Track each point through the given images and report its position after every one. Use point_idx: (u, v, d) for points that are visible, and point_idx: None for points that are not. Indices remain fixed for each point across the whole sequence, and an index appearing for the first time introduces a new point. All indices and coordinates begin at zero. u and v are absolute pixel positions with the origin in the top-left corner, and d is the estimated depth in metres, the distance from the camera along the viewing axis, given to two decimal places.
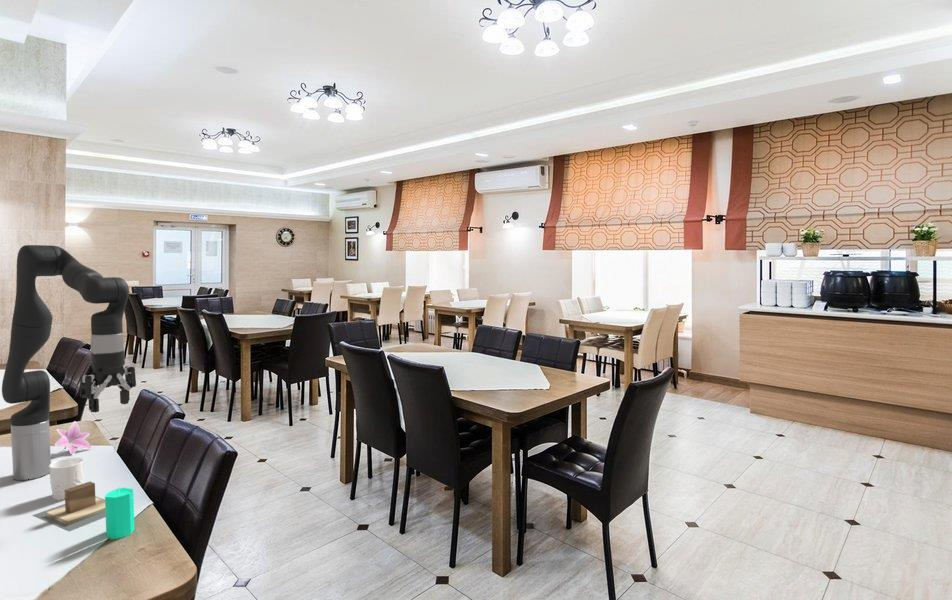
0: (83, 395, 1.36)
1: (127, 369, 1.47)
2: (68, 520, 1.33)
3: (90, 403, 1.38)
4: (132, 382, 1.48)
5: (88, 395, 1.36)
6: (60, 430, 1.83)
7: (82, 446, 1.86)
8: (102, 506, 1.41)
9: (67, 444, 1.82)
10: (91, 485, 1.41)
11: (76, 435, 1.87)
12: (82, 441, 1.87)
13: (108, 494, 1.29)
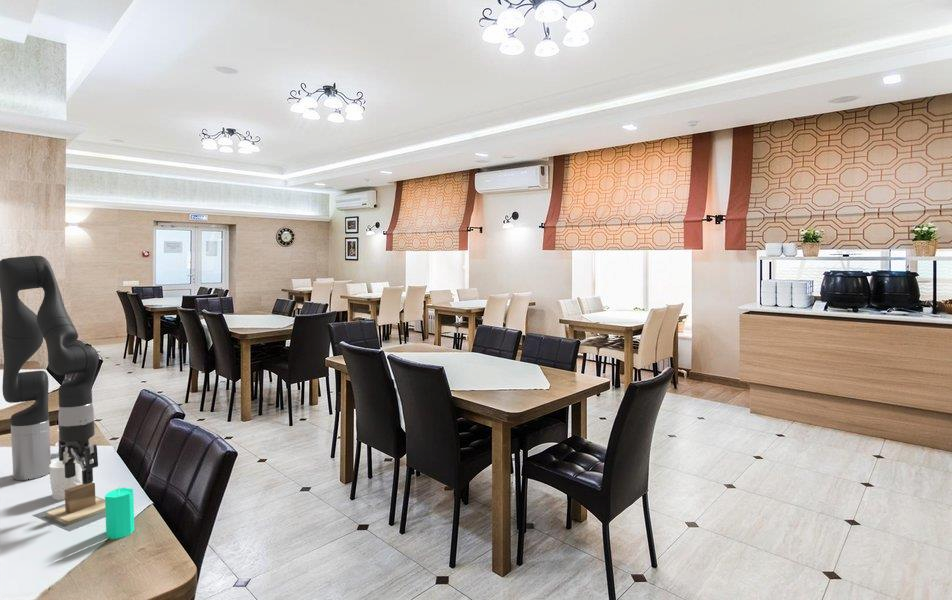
0: (92, 465, 1.35)
1: None
2: (68, 520, 1.33)
3: (89, 474, 1.36)
4: None
5: None
6: None
7: None
8: (102, 506, 1.41)
9: None
10: (91, 485, 1.41)
11: None
12: None
13: (108, 494, 1.29)
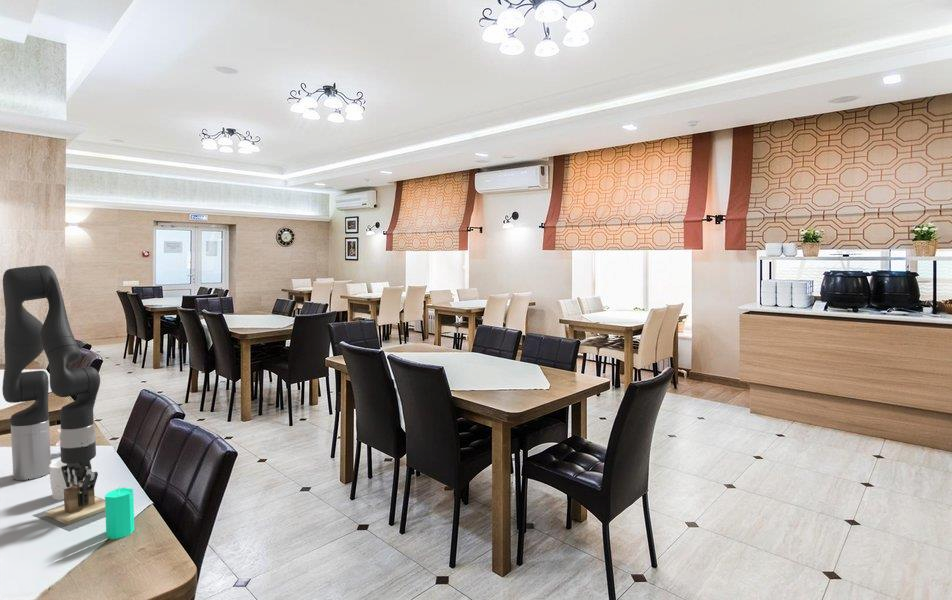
0: (88, 489, 1.37)
1: None
2: (67, 520, 1.33)
3: (84, 497, 1.38)
4: None
5: None
6: None
7: None
8: (101, 506, 1.40)
9: None
10: None
11: None
12: None
13: (108, 494, 1.29)
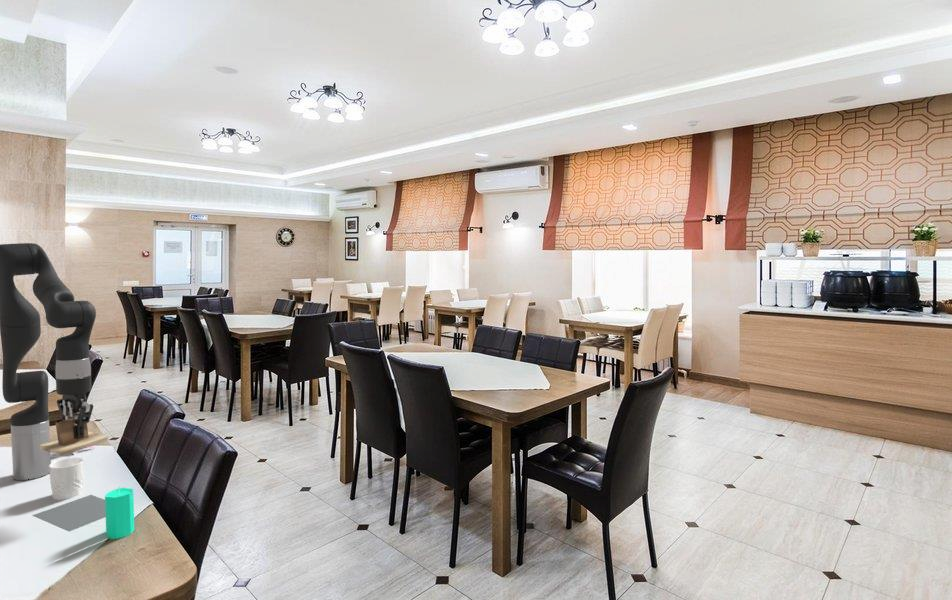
0: (84, 421, 1.38)
1: None
2: (61, 451, 1.33)
3: (80, 429, 1.39)
4: None
5: (88, 419, 1.39)
6: None
7: None
8: (95, 439, 1.41)
9: None
10: None
11: None
12: None
13: (108, 494, 1.29)
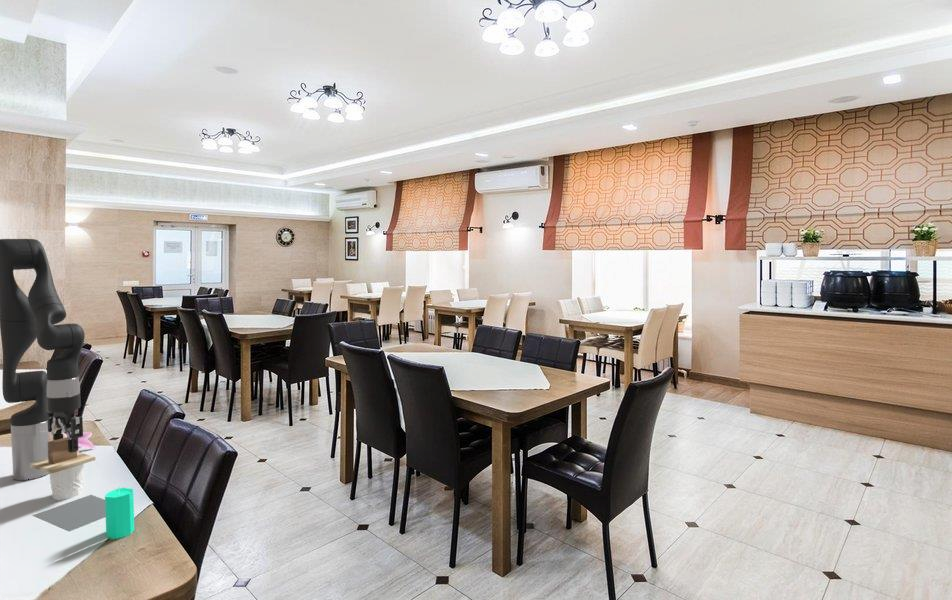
0: (78, 435, 1.46)
1: None
2: (51, 469, 1.42)
3: (74, 443, 1.47)
4: None
5: None
6: None
7: (85, 446, 1.86)
8: (83, 458, 1.50)
9: None
10: None
11: None
12: (85, 440, 1.87)
13: (108, 494, 1.29)
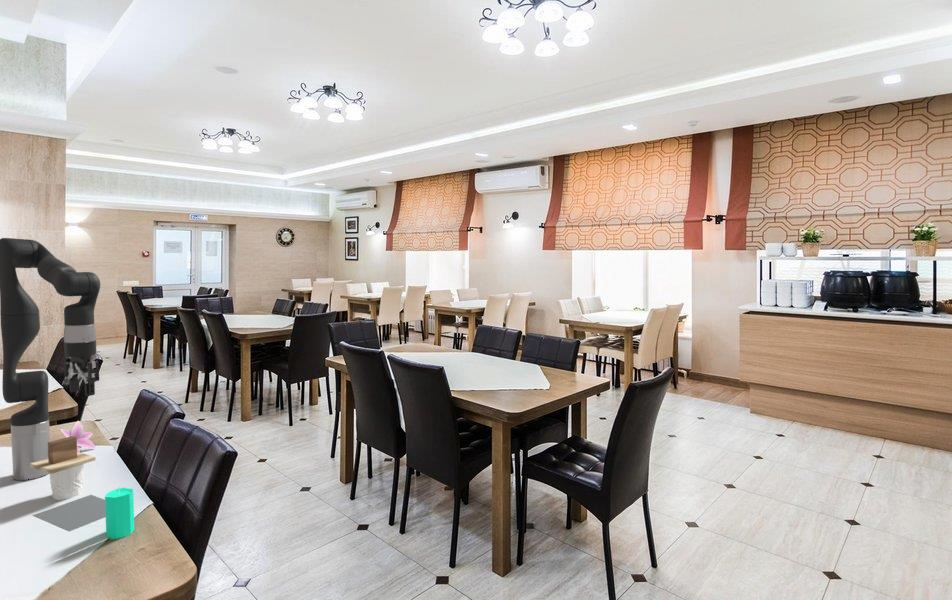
0: (94, 379, 1.50)
1: None
2: (51, 469, 1.42)
3: (91, 387, 1.51)
4: None
5: (98, 378, 1.51)
6: (64, 430, 1.83)
7: (86, 446, 1.86)
8: (83, 458, 1.50)
9: None
10: (73, 439, 1.50)
11: (80, 435, 1.87)
12: (86, 440, 1.88)
13: (108, 494, 1.29)
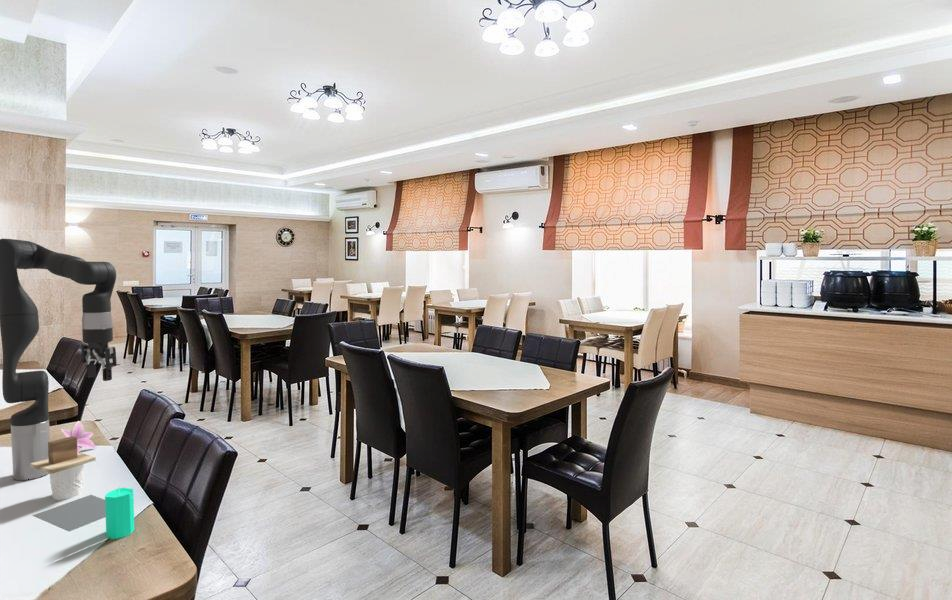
0: (112, 364, 1.56)
1: None
2: (51, 469, 1.42)
3: (108, 372, 1.56)
4: None
5: None
6: (64, 430, 1.83)
7: (86, 445, 1.86)
8: (84, 458, 1.50)
9: None
10: (73, 439, 1.50)
11: (80, 435, 1.87)
12: (86, 440, 1.88)
13: (108, 494, 1.29)
